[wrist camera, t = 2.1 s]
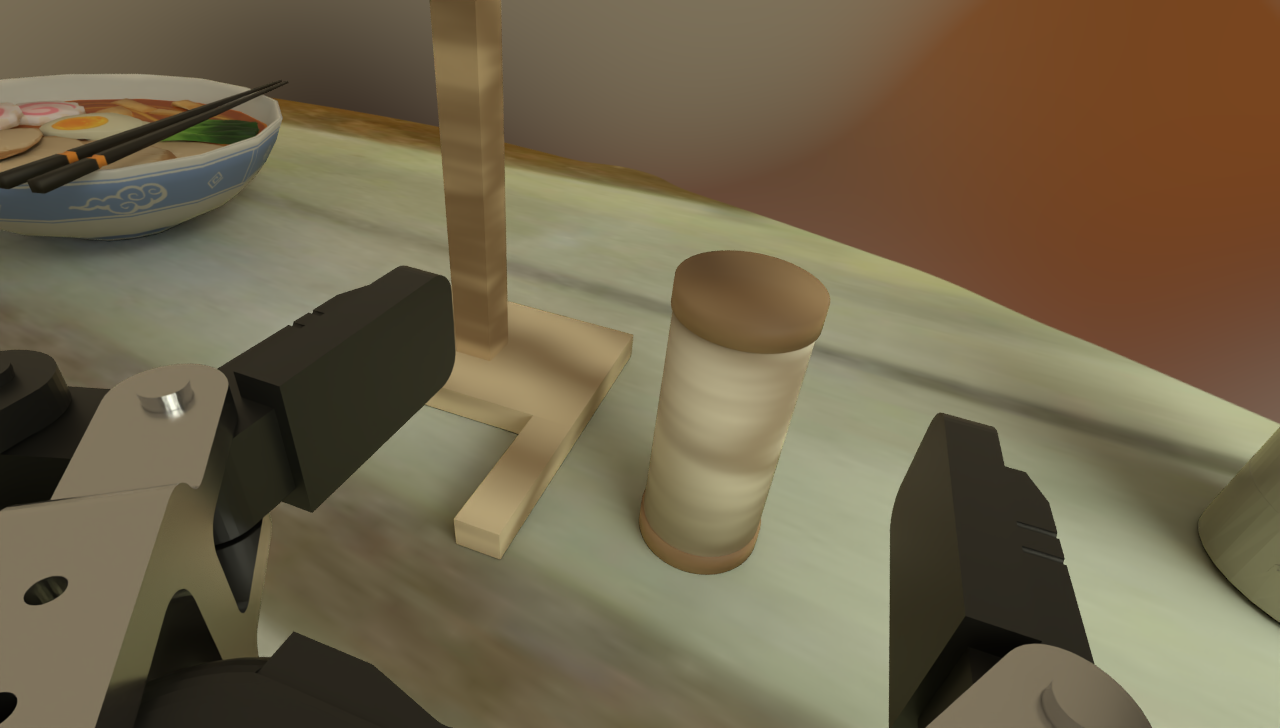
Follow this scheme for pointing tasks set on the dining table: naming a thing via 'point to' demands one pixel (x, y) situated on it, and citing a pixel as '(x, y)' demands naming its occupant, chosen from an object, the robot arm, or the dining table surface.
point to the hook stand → (503, 296)
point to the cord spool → (726, 403)
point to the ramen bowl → (126, 151)
